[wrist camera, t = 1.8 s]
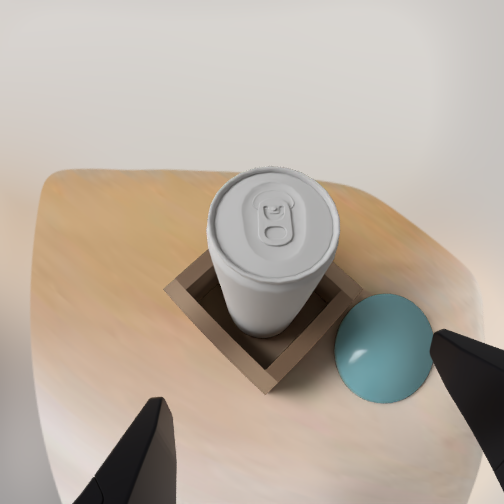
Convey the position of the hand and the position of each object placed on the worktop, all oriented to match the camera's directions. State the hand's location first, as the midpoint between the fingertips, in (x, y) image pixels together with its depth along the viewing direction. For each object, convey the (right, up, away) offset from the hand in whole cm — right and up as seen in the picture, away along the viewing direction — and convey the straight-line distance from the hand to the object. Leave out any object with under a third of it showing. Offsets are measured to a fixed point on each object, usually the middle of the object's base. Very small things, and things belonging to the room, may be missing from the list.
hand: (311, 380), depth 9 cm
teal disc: (+8, -3, +11) cm, 14 cm away
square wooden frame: (-1, 0, +13) cm, 13 cm away
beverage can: (-1, 0, +13) cm, 13 cm away
